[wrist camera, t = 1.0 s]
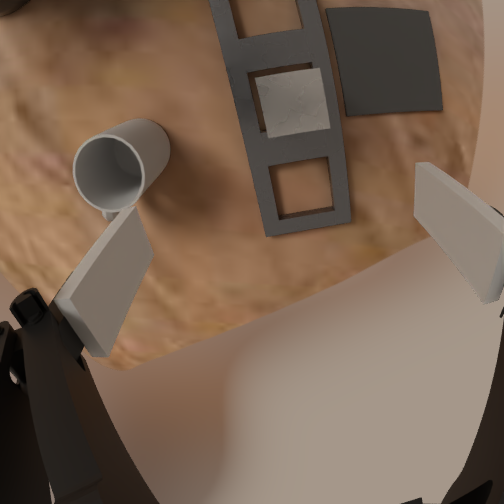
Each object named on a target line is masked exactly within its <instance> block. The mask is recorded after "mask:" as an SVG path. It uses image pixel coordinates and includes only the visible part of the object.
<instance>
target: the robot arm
mask: <svg viewBox="0 0 504 504" xmlns="http://www.w3.org/2000/svg"><path fill="white" fill-rule="evenodd" d="M29 1H30V0H0V16H3V15H7V14H10V13H12V12H14V11H16V10H18V9H19V8H21V7H22V6H24V5H25V4H26V3H27V2H29ZM414 217H415V218H416V219H417V220H418V222H419V223H420V224H421V225H422V226H423V227H424V228H425V230H426V231H427V232H428V233H429V234H430V235H431V237H432V238H433V239H434V240H435V241H436V242H437V244H438V245H439V246H440V247H441V248H442V250H443V251H444V252H445V253H446V255H447V256H448V257H449V258H450V260H451V261H452V262H453V264H454V265H455V266H456V267H457V269H458V270H459V271H460V273H461V274H462V275H463V276H464V278H465V279H466V280H467V282H468V283H469V285H470V286H471V287H472V289H473V290H474V292H475V293H476V294H477V296H478V297H479V299H480V300H481V302H482V303H483V304H488V303H491V302H494V301H497V300H499V298H500V295H501V292H502V290H503V287H504V216H503V215H502V214H501V213H500V212H499V211H498V210H496V209H495V208H493V207H491V206H489V205H488V204H487V203H485V202H484V201H483V200H482V199H480V198H479V197H478V196H476V195H475V194H474V193H473V192H471V191H470V190H469V189H467V188H466V187H464V186H463V185H462V184H460V183H459V182H458V181H456V180H455V179H453V178H452V177H451V176H449V175H448V174H446V173H445V172H443V171H442V170H440V169H439V168H437V167H436V166H434V165H433V164H431V163H430V162H420V163H415V199H414ZM153 256H154V253H153V250H152V248H151V245H150V243H149V240H148V238H147V235H146V232H145V230H144V227H143V224H142V222H141V219H140V216H139V213H138V211H137V208H136V206H134V207H130V208H126V209H122V210H121V211H120V213H119V214H118V215H117V216H116V217H115V219H114V220H113V221H112V222H111V223H110V225H109V226H108V227H107V228H106V230H105V231H104V232H103V233H102V235H101V236H100V237H99V238H98V240H97V241H96V242H95V243H94V245H93V246H92V247H91V249H90V250H89V251H88V252H87V254H86V255H85V256H84V258H83V259H82V260H81V262H80V263H79V264H78V266H77V267H76V269H75V270H74V271H73V272H72V273H71V274H70V276H69V277H68V278H67V280H66V282H65V283H64V284H63V285H62V288H61V289H60V290H59V291H58V293H57V294H56V296H55V297H54V299H53V300H52V302H51V303H50V304H49V306H47V304H46V303H45V301H44V300H43V298H42V296H41V295H40V293H39V292H38V290H37V288H31V289H28V290H26V291H24V292H22V293H21V294H20V295H19V296H17V297H16V298H15V299H14V301H13V302H12V303H11V305H10V311H11V312H12V314H13V315H14V317H15V318H16V319H17V321H18V322H19V324H20V325H21V327H22V328H20V329H17V330H14V329H13V328H12V326H11V325H10V324H9V322H8V321H3V322H1V323H0V504H52V502H51V495H50V487H49V482H50V485H51V488H52V491H53V494H54V498H55V503H54V504H159V502H158V501H157V499H156V498H155V496H154V495H153V494H152V492H151V490H150V489H149V487H148V486H147V484H146V482H145V481H144V479H143V478H142V476H141V474H140V473H139V471H138V469H137V468H136V466H135V464H134V462H133V461H132V459H131V457H130V455H129V454H128V452H127V450H126V448H125V446H124V444H123V442H122V441H121V439H120V437H119V435H118V433H117V431H116V429H115V427H114V425H113V423H112V421H111V419H110V417H109V415H108V412H107V410H106V408H105V406H104V404H103V401H102V399H101V397H100V395H99V392H98V390H97V388H96V385H95V383H94V380H93V378H92V375H91V373H90V370H89V368H88V365H87V363H86V360H85V359H84V357H83V356H82V355H81V352H82V350H83V348H84V346H85V348H86V349H87V350H88V352H89V353H90V354H91V356H92V357H109V355H110V352H111V350H112V348H113V345H114V343H115V340H116V338H117V335H118V333H119V331H120V328H121V326H122V324H123V321H124V319H125V317H126V314H127V312H128V310H129V308H130V305H131V303H132V301H133V299H134V297H135V294H136V292H137V290H138V288H139V286H140V283H141V281H142V279H143V277H144V275H145V273H146V271H147V269H148V267H149V265H150V262H151V260H152V258H153ZM503 314H504V307H503V309H502V312H501V314H500V318H502V316H503ZM10 372H11V373H12V374H13V375H14V376H15V377H16V378H17V383H16V384H15V383H14V382H13V381H12V380H11V377H10ZM401 504H423V503H422V498H418V499H415V500H412V501H408V502H405V503H401ZM441 504H504V322H503V329H502V336H501V342H500V348H499V353H498V358H497V364H496V368H495V373H494V377H493V381H492V385H491V389H490V394H489V397H488V400H487V404H486V407H485V411H484V414H483V417H482V420H481V423H480V426H479V429H478V432H477V435H476V438H475V440H474V443H473V446H472V449H471V451H470V454H469V456H468V458H467V461H466V463H465V466H464V468H463V470H462V472H461V474H460V475H459V477H458V478H457V479H456V481H455V482H454V483H453V485H452V486H451V487H450V489H449V490H448V492H447V494H446V495H445V497H444V499H443V501H442V503H441Z"/></svg>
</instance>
